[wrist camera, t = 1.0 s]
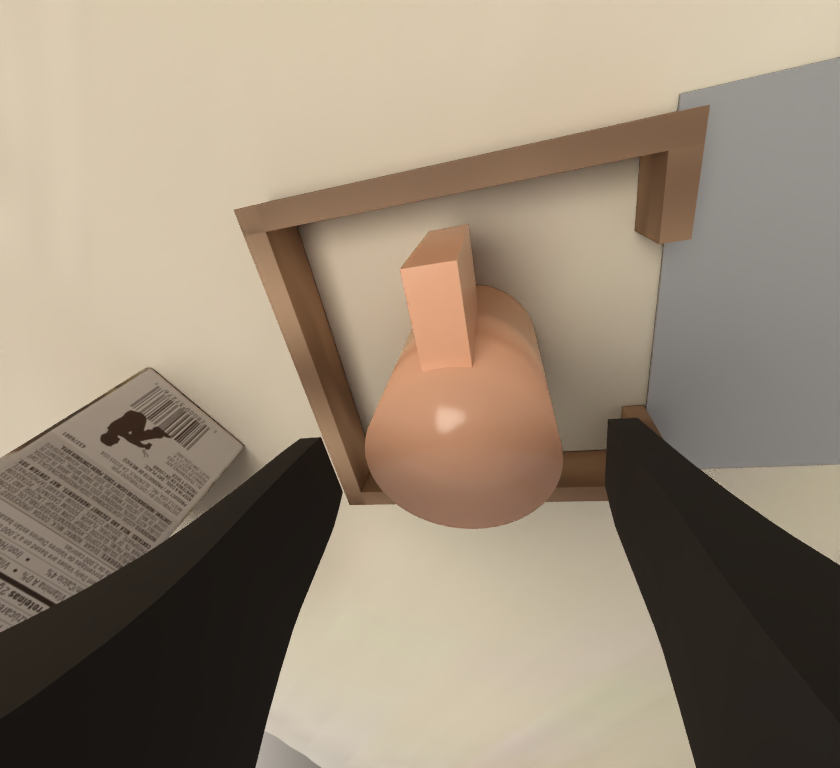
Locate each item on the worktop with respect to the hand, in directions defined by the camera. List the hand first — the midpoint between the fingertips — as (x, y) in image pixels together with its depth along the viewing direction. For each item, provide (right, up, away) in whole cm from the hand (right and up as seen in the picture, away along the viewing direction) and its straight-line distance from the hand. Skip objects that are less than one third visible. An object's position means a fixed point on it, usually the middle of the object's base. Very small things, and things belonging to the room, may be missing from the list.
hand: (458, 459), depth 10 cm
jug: (+1, +5, +5) cm, 7 cm away
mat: (+11, +4, +3) cm, 13 cm away
